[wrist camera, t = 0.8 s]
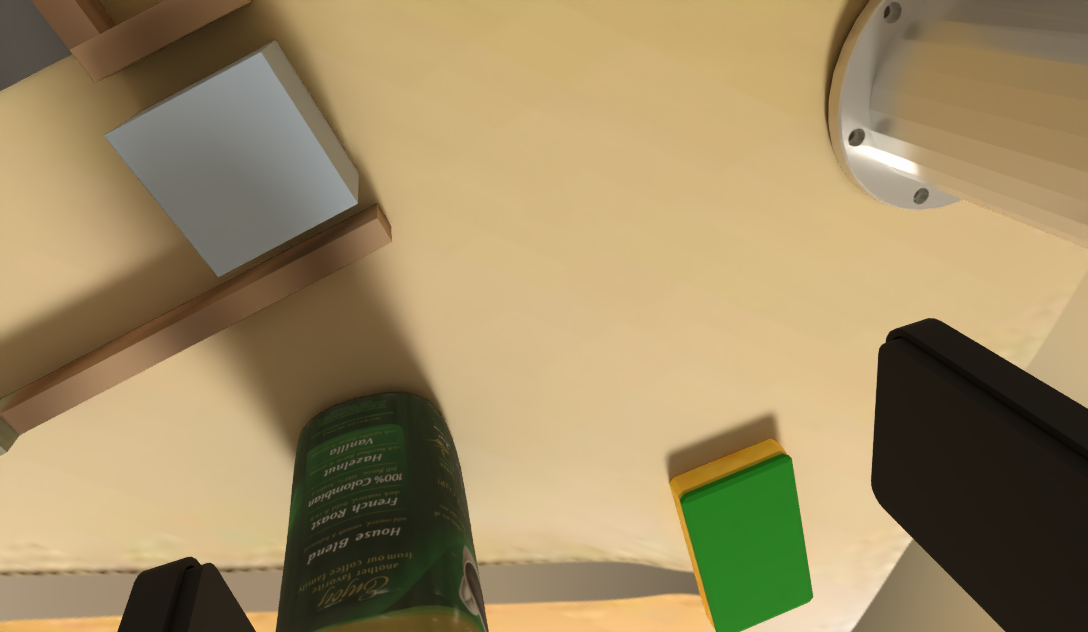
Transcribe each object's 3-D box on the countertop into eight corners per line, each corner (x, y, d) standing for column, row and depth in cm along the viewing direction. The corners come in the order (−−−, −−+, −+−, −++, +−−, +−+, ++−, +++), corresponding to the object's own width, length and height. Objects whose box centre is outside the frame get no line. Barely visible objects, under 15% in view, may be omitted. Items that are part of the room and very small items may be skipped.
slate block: (276, 39, 27) (261, 52, 23) (358, 172, 30) (357, 203, 26) (141, 110, 27) (103, 136, 23) (237, 236, 30) (218, 277, 26)
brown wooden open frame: (113, -225, 23) (78, -252, 20) (390, 226, 31) (392, 251, 28) (-403, 48, 23) (-511, 59, 20) (15, 420, 31) (-19, 465, 29)
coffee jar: (276, 410, 34) (194, 811, 18) (433, 369, 35) (489, 715, 19) (336, 548, 39) (314, 965, 23) (474, 508, 40) (547, 881, 24)
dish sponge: (704, 613, 49) (720, 642, 47) (665, 475, 42) (681, 501, 40) (795, 574, 50) (814, 601, 48) (771, 431, 43) (792, 455, 41)
